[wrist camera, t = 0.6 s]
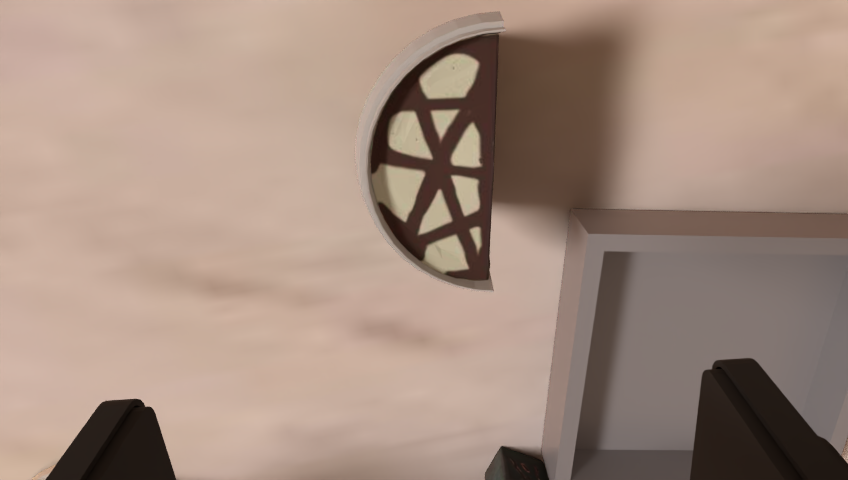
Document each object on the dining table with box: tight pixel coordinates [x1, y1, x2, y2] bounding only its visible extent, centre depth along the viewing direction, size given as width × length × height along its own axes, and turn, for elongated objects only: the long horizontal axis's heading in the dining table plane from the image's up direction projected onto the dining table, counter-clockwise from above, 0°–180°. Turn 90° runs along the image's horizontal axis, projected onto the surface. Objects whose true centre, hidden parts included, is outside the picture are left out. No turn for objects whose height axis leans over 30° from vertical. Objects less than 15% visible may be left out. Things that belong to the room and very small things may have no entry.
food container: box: [355, 11, 506, 292], centre depth 31 cm, size 12×6×10 cm, turn 0°
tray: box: [541, 209, 848, 480], centre depth 40 cm, size 18×18×4 cm
